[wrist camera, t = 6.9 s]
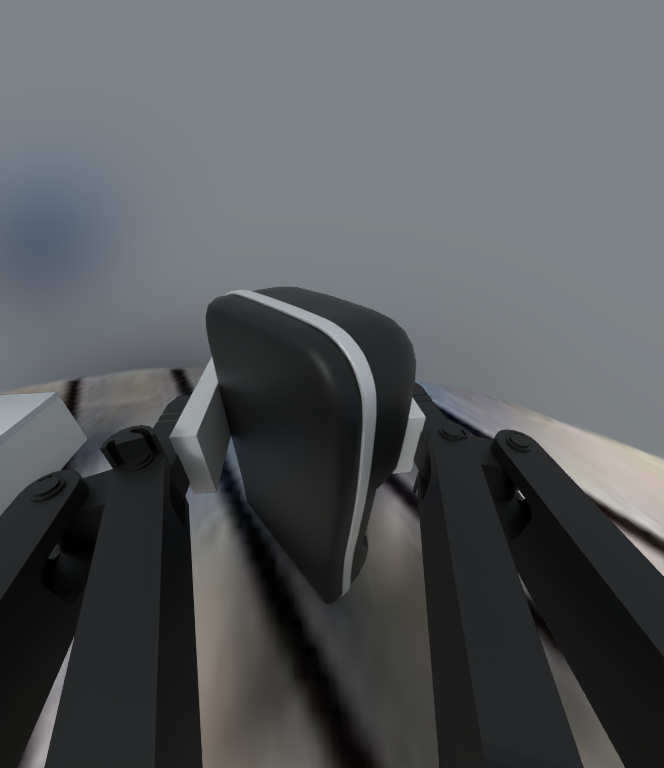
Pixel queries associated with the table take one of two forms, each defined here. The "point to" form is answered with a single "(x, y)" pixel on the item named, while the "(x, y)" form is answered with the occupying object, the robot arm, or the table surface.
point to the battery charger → (312, 418)
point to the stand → (34, 440)
